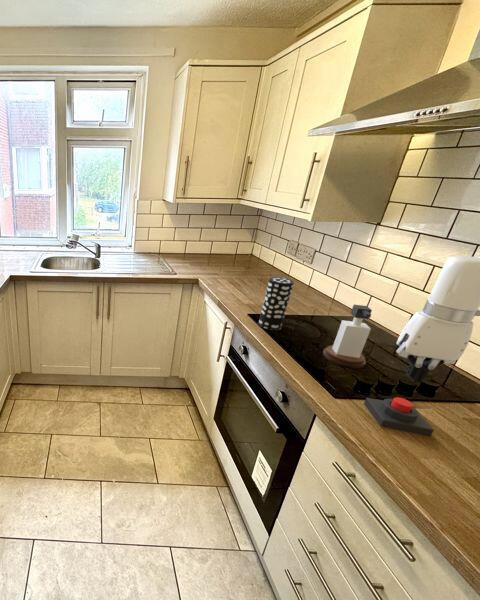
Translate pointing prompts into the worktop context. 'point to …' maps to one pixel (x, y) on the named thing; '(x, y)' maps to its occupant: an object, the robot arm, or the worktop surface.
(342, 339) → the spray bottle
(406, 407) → the button
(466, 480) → the worktop surface
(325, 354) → the base
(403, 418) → the grey stepped base
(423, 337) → the robot arm
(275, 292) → the spotted tube
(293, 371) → the worktop surface
